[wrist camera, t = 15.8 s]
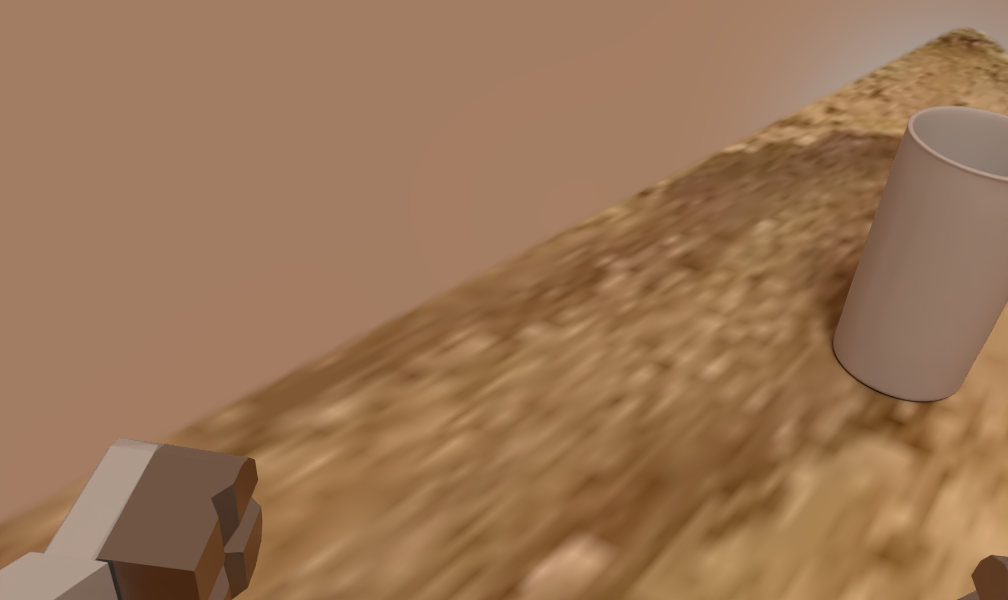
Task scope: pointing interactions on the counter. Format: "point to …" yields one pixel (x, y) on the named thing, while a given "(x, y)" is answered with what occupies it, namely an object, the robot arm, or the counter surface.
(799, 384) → the counter surface
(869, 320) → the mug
